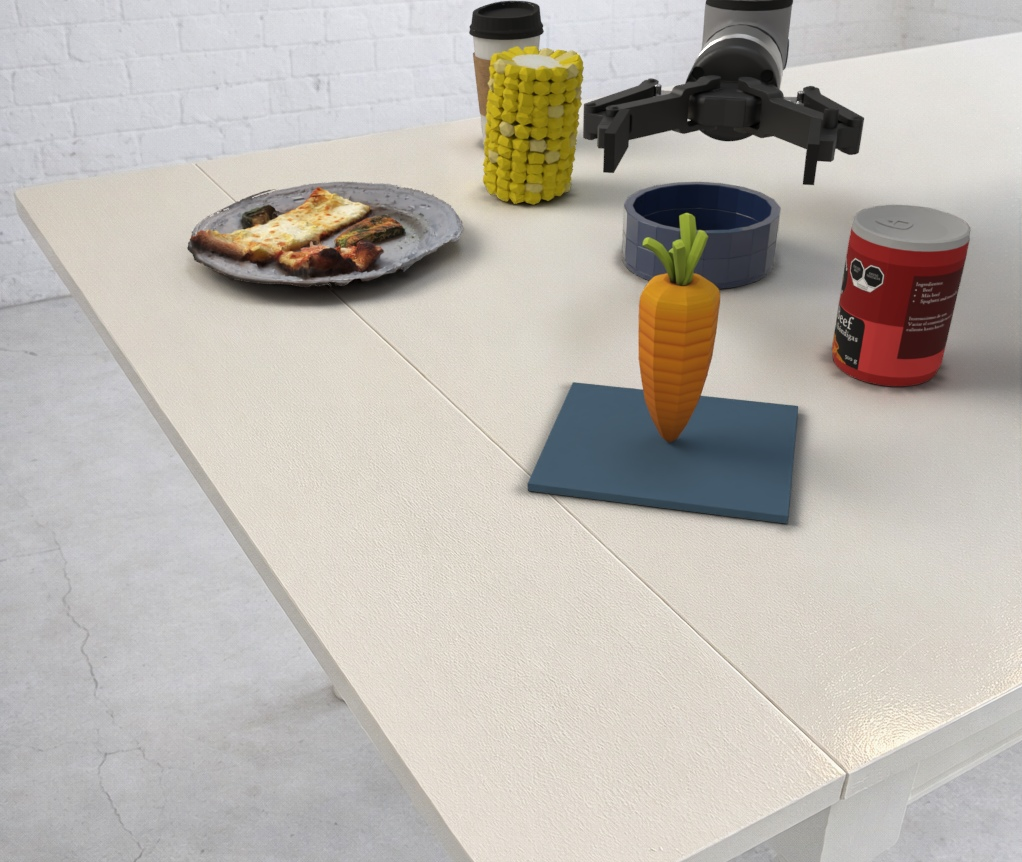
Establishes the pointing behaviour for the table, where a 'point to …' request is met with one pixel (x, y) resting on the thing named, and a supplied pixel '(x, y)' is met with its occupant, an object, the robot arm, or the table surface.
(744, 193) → the pot
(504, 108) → the food
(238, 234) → the food plate
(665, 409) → the carrot
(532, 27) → the coffee cup
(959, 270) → the canned food
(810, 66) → the table surface
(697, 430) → the blue rectangular board
